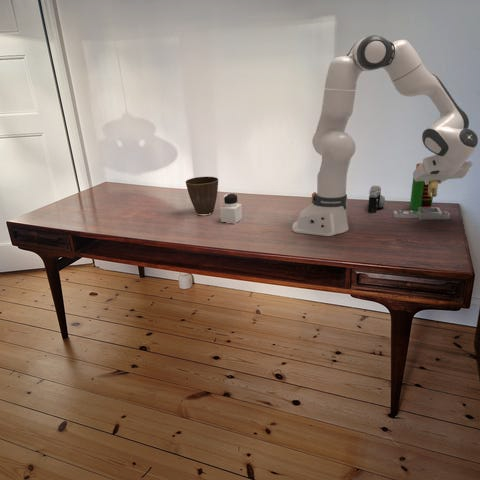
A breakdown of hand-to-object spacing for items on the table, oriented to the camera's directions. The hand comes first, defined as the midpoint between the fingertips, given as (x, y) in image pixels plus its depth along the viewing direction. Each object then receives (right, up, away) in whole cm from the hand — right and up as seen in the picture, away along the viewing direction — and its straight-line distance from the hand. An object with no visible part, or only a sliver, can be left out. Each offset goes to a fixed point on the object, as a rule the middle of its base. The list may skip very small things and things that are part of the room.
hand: (432, 182), depth 172 cm
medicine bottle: (-82, -15, +14) cm, 85 cm away
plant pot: (-95, -11, +26) cm, 99 cm away
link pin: (0, -5, +1) cm, 5 cm away
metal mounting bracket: (-2, -14, +6) cm, 15 cm away
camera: (-17, -9, +20) cm, 27 cm away
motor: (+2, -10, +16) cm, 19 cm away
